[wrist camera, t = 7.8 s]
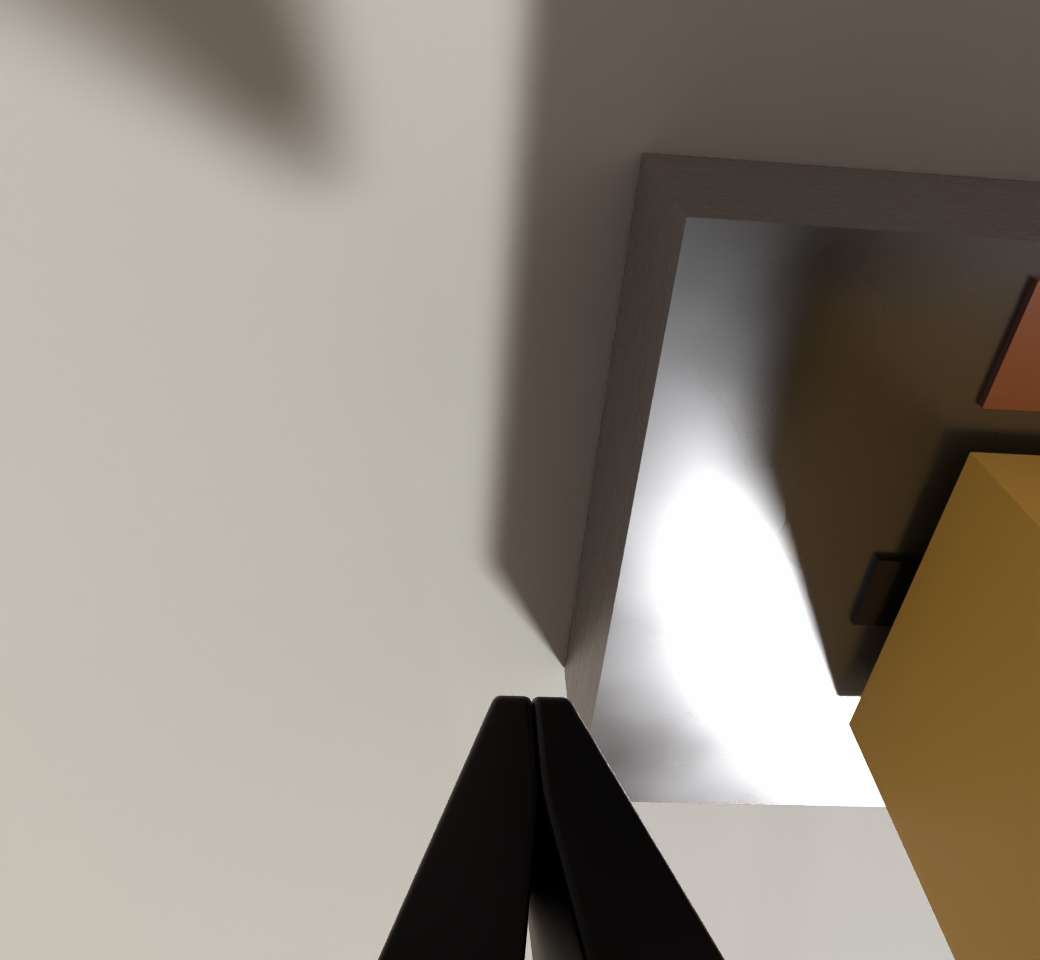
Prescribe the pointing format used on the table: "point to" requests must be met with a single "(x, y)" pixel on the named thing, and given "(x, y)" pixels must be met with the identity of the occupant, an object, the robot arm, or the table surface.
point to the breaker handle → (968, 713)
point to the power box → (787, 458)
